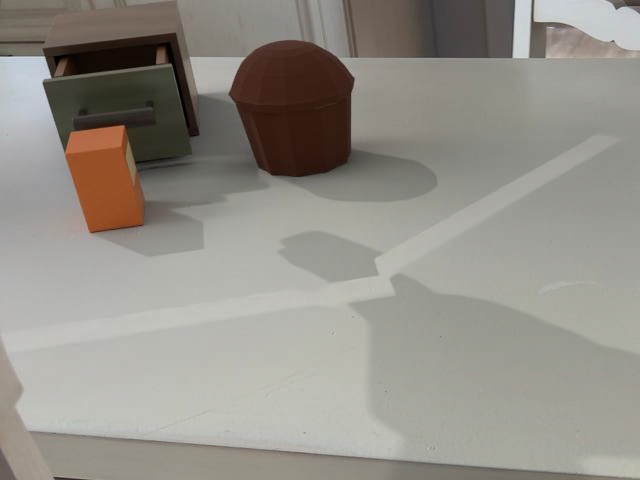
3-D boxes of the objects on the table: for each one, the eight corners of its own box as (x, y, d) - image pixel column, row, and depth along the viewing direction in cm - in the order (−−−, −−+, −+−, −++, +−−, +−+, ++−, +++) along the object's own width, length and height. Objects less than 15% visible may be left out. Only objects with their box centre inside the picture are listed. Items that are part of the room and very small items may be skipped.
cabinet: (199, 134, 104) (176, 32, 98) (74, 151, 103) (41, 48, 96) (197, 93, 116) (176, -1, 110) (85, 107, 114) (57, 13, 108)
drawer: (192, 169, 93) (171, 79, 88) (65, 187, 92) (36, 96, 87) (191, 111, 108) (172, 30, 103) (81, 125, 106) (56, 44, 101)
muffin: (389, 151, 97) (376, 36, 90) (308, 189, 90) (288, 68, 84) (300, 133, 103) (282, 24, 96) (218, 167, 96) (193, 53, 90)
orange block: (88, 232, 86) (63, 154, 81) (93, 207, 90) (69, 131, 86) (144, 225, 86) (122, 146, 82) (145, 200, 91) (125, 124, 86)
